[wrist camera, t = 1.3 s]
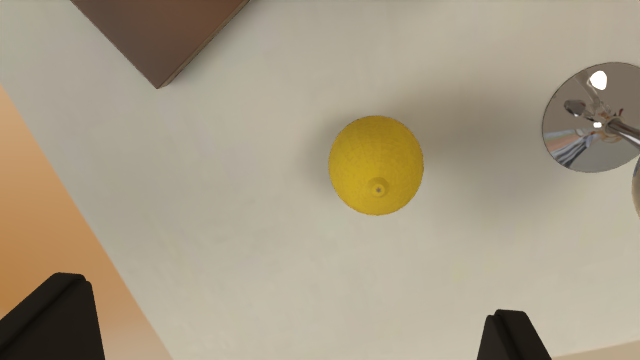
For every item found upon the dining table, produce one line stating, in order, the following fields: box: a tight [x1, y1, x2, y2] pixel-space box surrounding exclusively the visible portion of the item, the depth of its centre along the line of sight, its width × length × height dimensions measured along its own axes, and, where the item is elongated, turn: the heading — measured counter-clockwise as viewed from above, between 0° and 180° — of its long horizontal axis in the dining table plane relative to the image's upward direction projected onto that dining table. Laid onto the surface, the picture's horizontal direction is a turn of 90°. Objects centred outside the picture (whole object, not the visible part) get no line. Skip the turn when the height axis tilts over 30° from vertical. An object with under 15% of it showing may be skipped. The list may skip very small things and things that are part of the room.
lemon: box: [329, 116, 424, 216], centre depth 26 cm, size 6×6×8 cm
